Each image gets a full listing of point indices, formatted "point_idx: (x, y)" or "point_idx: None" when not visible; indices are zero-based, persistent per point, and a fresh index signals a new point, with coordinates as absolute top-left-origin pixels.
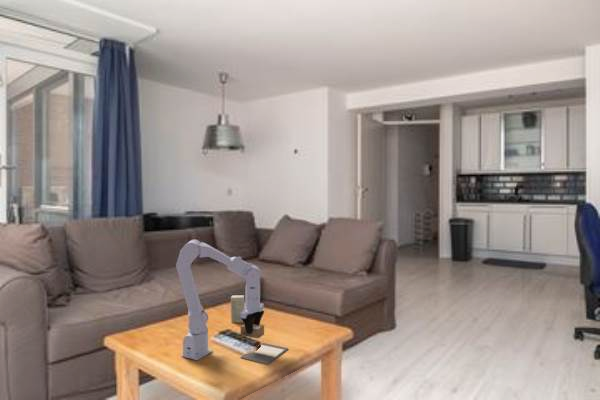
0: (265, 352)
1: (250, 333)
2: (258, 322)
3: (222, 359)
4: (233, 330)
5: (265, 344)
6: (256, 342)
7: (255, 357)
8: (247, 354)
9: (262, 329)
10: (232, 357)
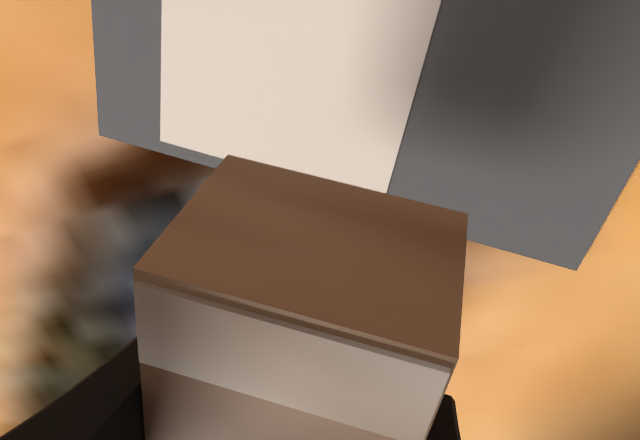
0: (368, 6)
1: (452, 409)
2: (105, 435)
3: (620, 408)
4: (6, 413)
5: (125, 88)
6: (109, 201)
7: (565, 99)
8: (480, 218)
9: (249, 248)
10: (557, 339)
